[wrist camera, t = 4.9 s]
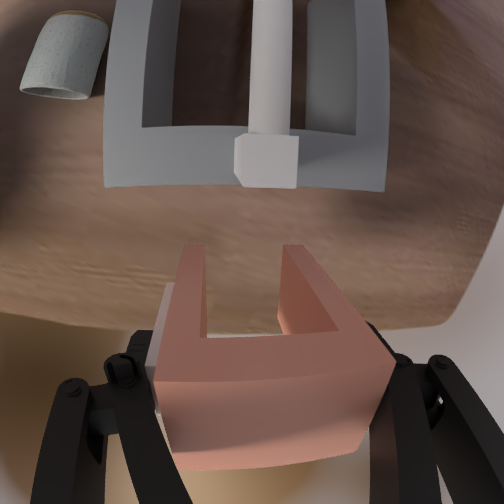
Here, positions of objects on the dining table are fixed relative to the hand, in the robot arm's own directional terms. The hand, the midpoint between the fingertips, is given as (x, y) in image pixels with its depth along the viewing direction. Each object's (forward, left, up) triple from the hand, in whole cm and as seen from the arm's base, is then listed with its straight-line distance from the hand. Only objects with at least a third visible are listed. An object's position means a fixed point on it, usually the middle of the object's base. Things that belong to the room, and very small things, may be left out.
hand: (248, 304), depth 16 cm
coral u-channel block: (0, 0, -3) cm, 3 cm away
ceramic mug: (-18, +18, -16) cm, 30 cm away
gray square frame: (0, +15, -16) cm, 22 cm away
